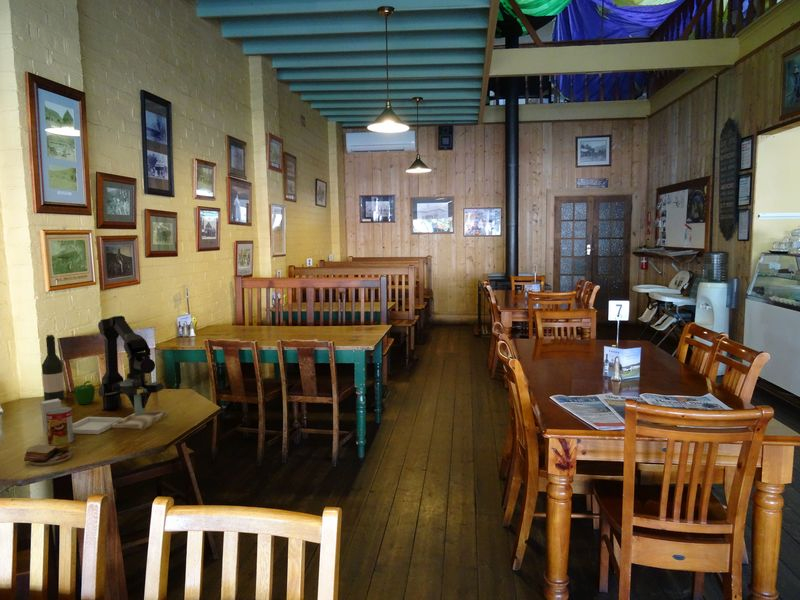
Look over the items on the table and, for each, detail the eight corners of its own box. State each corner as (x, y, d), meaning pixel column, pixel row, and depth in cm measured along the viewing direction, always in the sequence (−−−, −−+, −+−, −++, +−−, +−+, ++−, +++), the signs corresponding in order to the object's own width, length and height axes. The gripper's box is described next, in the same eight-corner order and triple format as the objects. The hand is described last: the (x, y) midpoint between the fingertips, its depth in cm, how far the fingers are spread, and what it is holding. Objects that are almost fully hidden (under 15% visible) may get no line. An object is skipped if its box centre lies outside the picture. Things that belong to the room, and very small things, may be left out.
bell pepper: (72, 406, 251) (70, 384, 250) (77, 401, 258) (76, 379, 257) (92, 404, 253) (91, 382, 251) (98, 400, 260) (96, 378, 259)
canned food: (50, 440, 207) (47, 408, 206) (75, 437, 210) (72, 406, 209) (46, 447, 200) (44, 414, 198) (72, 444, 203) (69, 411, 201)
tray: (141, 429, 218) (140, 425, 218) (112, 428, 219) (111, 424, 219) (166, 415, 236) (166, 411, 235) (139, 414, 237) (139, 410, 237)
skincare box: (60, 428, 221) (58, 398, 220) (63, 430, 218) (61, 400, 217) (42, 432, 217) (40, 401, 215) (45, 434, 214) (43, 403, 212)
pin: (133, 415, 226) (131, 395, 225) (138, 412, 229) (136, 393, 228) (141, 415, 225) (139, 395, 224) (145, 413, 229) (144, 393, 228)
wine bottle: (58, 401, 259) (53, 336, 256) (40, 401, 259) (35, 336, 256) (69, 396, 267) (64, 333, 264) (51, 396, 267) (46, 333, 264)
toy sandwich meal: (58, 467, 182) (56, 453, 182) (17, 467, 183) (16, 453, 182) (81, 453, 195) (80, 439, 194) (43, 453, 195) (41, 439, 195)
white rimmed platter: (61, 434, 214) (61, 428, 214) (88, 421, 229) (88, 416, 229) (98, 435, 212) (98, 430, 212) (122, 422, 227) (122, 417, 227)
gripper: (102, 373, 219) (104, 413, 220) (147, 374, 216) (149, 414, 218) (120, 367, 230) (122, 405, 231) (163, 368, 227) (165, 406, 229)
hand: (139, 408), depth 227 cm, fingers closed on pin, 3 cm apart
